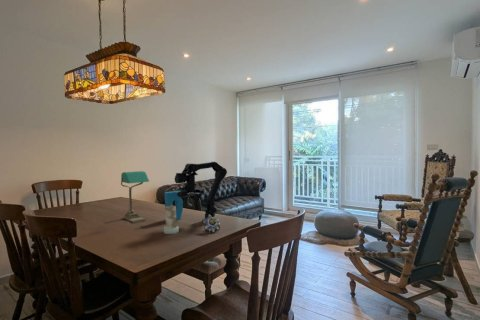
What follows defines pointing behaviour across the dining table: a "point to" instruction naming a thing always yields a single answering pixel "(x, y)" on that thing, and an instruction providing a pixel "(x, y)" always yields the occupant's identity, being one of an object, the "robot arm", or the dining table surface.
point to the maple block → (170, 216)
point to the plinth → (171, 230)
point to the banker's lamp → (130, 178)
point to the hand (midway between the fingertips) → (191, 205)
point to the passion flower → (211, 223)
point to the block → (178, 202)
